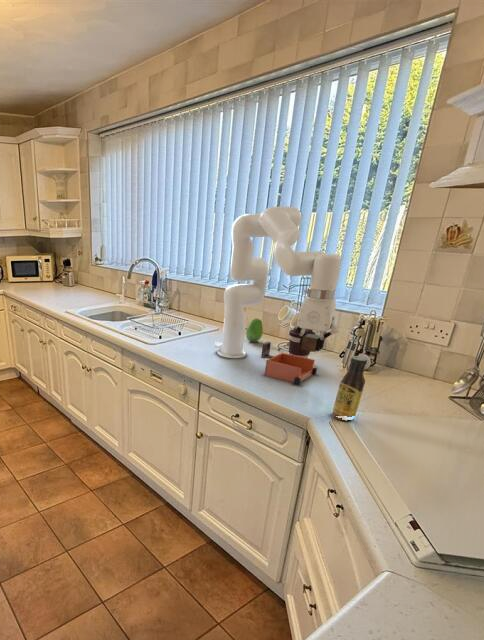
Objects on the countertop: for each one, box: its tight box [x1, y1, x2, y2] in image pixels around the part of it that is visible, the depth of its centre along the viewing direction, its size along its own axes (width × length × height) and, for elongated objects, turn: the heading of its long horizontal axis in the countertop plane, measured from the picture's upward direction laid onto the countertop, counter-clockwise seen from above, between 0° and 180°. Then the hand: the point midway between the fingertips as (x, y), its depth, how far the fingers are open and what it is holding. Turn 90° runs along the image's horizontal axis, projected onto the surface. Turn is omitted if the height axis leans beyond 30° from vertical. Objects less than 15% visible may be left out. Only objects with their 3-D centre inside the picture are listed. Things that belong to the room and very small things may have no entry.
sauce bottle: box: [332, 355, 368, 422], centre depth 118 cm, size 6×6×20 cm
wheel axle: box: [293, 367, 318, 387], centre depth 151 cm, size 2×16×3 cm, turn 134°
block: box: [301, 334, 320, 353], centre depth 133 cm, size 4×4×4 cm
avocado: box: [245, 318, 264, 343], centre depth 197 cm, size 8×8×12 cm
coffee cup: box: [288, 327, 316, 359], centre depth 167 cm, size 10×10×15 cm
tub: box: [260, 341, 316, 384], centre depth 155 cm, size 18×13×11 cm
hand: (310, 347), depth 133 cm, fingers closed on block, 4 cm apart
